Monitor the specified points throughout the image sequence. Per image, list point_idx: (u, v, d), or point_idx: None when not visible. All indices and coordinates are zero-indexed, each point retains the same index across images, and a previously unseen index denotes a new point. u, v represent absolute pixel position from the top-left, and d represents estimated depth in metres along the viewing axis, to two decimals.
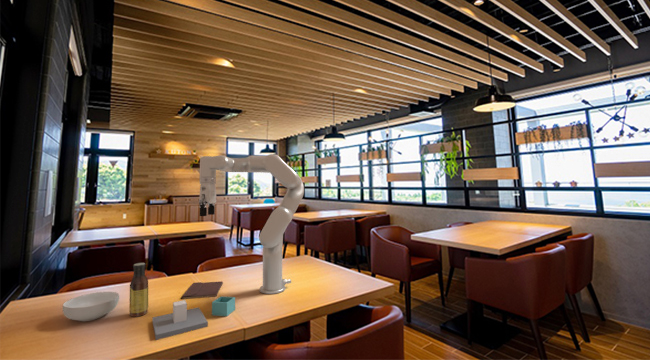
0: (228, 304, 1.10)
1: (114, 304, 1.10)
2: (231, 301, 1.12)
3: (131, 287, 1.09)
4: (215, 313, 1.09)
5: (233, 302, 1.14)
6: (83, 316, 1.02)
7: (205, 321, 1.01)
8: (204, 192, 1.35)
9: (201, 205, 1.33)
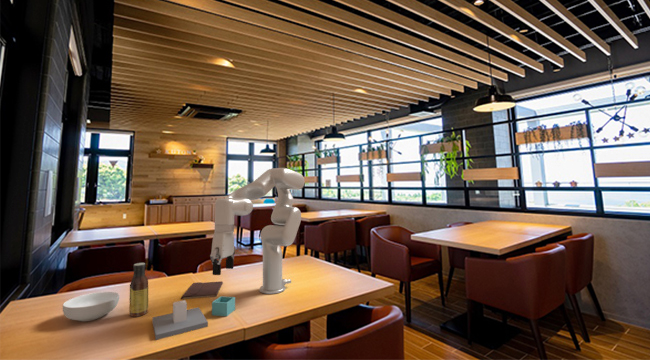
0: (228, 304, 1.10)
1: (114, 304, 1.10)
2: (231, 301, 1.12)
3: (131, 287, 1.09)
4: (215, 313, 1.09)
5: (233, 302, 1.14)
6: (83, 316, 1.02)
7: (205, 321, 1.01)
8: None
9: None
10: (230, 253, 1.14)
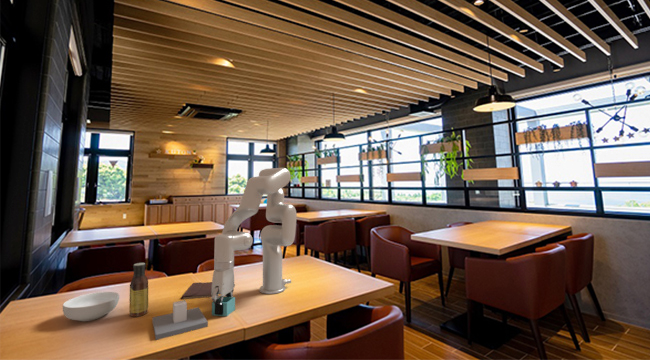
0: (228, 304, 1.10)
1: (114, 304, 1.10)
2: (231, 301, 1.12)
3: (131, 287, 1.09)
4: None
5: (233, 302, 1.14)
6: (83, 316, 1.02)
7: (205, 321, 1.01)
8: None
9: None
10: (230, 289, 1.14)
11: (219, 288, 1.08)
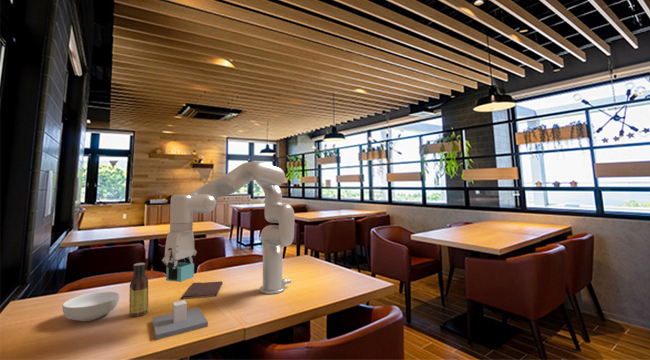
0: (183, 269, 1.00)
1: (114, 304, 1.10)
2: (188, 266, 1.03)
3: (131, 287, 1.09)
4: None
5: (191, 268, 1.04)
6: (83, 316, 1.02)
7: (205, 321, 1.01)
8: None
9: None
10: (188, 254, 1.04)
11: (172, 251, 0.99)
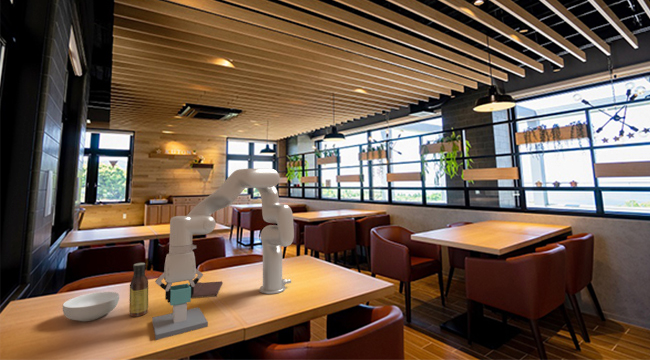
0: (174, 293, 0.99)
1: (114, 304, 1.10)
2: (181, 291, 1.00)
3: (131, 287, 1.09)
4: None
5: (186, 293, 1.01)
6: (83, 316, 1.02)
7: (205, 321, 1.01)
8: None
9: None
10: (185, 278, 1.02)
11: (165, 273, 0.99)
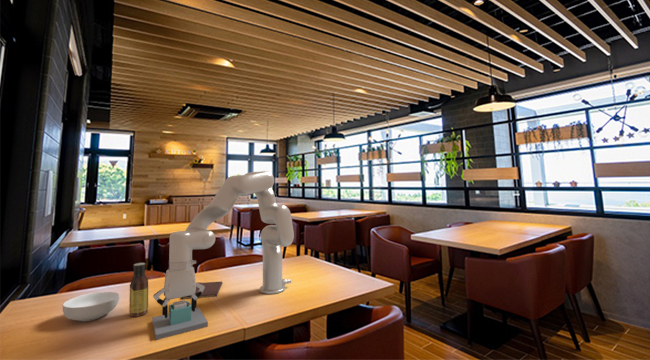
0: (174, 312, 0.99)
1: (114, 304, 1.10)
2: (182, 310, 1.00)
3: (131, 287, 1.09)
4: (169, 318, 1.02)
5: (187, 311, 1.01)
6: (83, 316, 1.02)
7: (205, 321, 1.01)
8: None
9: None
10: (185, 294, 1.02)
11: (165, 289, 0.99)
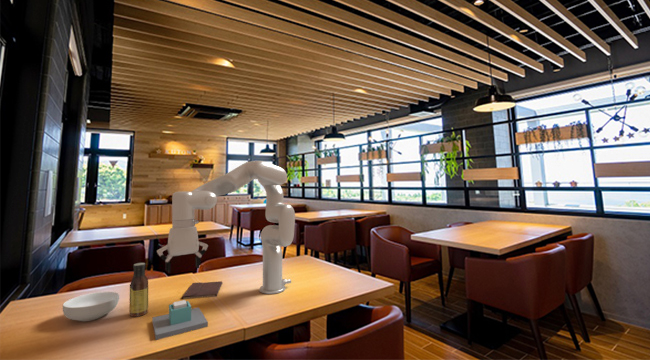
0: (174, 312, 0.99)
1: (114, 304, 1.10)
2: (182, 310, 1.00)
3: (131, 287, 1.09)
4: (169, 318, 1.02)
5: (187, 311, 1.01)
6: (83, 316, 1.02)
7: (205, 321, 1.01)
8: None
9: None
10: (188, 251, 1.05)
11: (168, 246, 1.02)
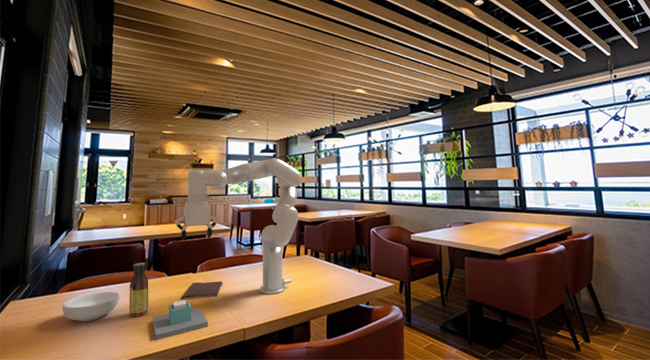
0: (174, 312, 0.99)
1: (114, 304, 1.10)
2: (182, 310, 1.00)
3: (131, 287, 1.09)
4: (169, 318, 1.02)
5: (187, 311, 1.01)
6: (83, 316, 1.02)
7: (205, 321, 1.01)
8: None
9: None
10: (201, 222, 1.19)
11: (184, 217, 1.16)
